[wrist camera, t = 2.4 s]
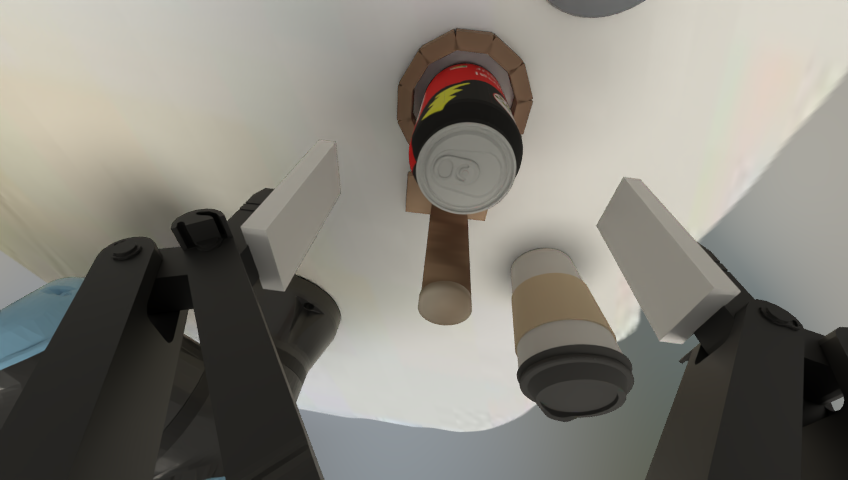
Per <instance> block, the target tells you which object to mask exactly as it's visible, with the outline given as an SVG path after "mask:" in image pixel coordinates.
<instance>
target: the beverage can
mask: <svg viewBox="0 0 848 480" xmlns="http://www.w3.org/2000/svg"><path fill="white" fill-rule="evenodd" d="M522 155H523V144H522V138H521V135H520V132H519V129H518V127H517V125H516V122H515V120H514V118H513V115H512V113H511V110H510V108H509V106H508V103H507V101H506V99H505V96H504V94H503V92H502V89H501V87H500V85H499V83H498V81H497V80H496V78H495V77H494V76H493V75H492V74H491V73H490V72H489V71H487V70H486V69H484V68H482V67H480V66H478V65H474V64H467V63H463V64H456V65H453V66H450V67H448V68H446V69H444V70H442V71H441V72H440V73H438V74H437V75H436V76H435V77H434V78H433V80H432V81H431V82H430V84H429V85H428V87H427V89H426V92H425V94H424V98H423V101H422V104H421V108H420V111H419V114H418V118H417V121H416V124H415V128H414V131H413V134H412V138H411V141H410V146H409V163H410V168H411V171H412V174H413V176H414V178H415V180H416V182H417V184H418V185H419V187H420V190H421V191H422V193H423V194H424V196H425V197H426V198H427V199H428V200H429V201H430V202H431V203H432V204H433V205H435V206H436V207H438V208H440V209H442V210H444V211H447V212H450V213H454V214H474V213H479V212H482V211H485V210H487V209H489V208H491V207H493V206H494V205H496V204H497V203H498V202H500V201H501V200H502V199H503V198H504V197H505V196H506V194H507V193H508V192H509V190H510V188H511V187H512V185H513V182H514V179H515V177H516V175H517V173H518V171H519V168H520V165H521V161H522Z"/></svg>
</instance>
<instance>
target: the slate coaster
mask: <svg viewBox="0 0 848 480" xmlns="http://www.w3.org/2000/svg"><path fill="white" fill-rule="evenodd" d="M547 1H548V2H549V3H550V4H551V5H552V6H554V7H556V8H557V9H559V10H561V11H563V12H565V13H568V14H571V15H575V16H580V17H588V18H597V17H605V16H610V15H614V14H617V13H620V12H623V11H625V10H628V9H630V8H632V7H634V6H636V5H638V4H640V3H642V2H644V1H645V0H547Z"/></svg>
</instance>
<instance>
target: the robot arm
mask: <svg viewBox="0 0 848 480" xmlns="http://www.w3.org/2000/svg"><path fill="white" fill-rule="evenodd" d="M340 194H341V189H340V179H339V169H338V159H337V148H336V142H335V141H327V140H319V141H318V142H317V143H316V144H315V145H314V146H313V147H312V148H311V149H310V151H309V152H308V153H307V154H306V155H305V156H304V157H303V158H302V159H301V160H300V162H299V163H298V164H297V165H296V166H295V167H294V168H293V169H292V170H291V172H290V173H289V174H288V175H287V176H286V177H285V178H284V179H283V180H282V181H281V183H280V184H279V185H278V186H277V187H276V188H275V189H269V188H265V189H263V190H261V191H259V192H257V193H255V194H254V195H253V196H252V197H251V198H250V199H249V200H248V201H247V202H246V204H244V205H243V206H242V207H241V208H240V210H238V211H237V212H236V213H235V214H234V215H233V216H232V217H231V218H230V219H229V220H228V221H227V220H226V218H225V215H224V214H223V213H222V212H221V211H218V210H215V209H201V210H195V211H192V212H188V213H186V214H184V215H182V216H180V217H178V218H177V219H176V220H175V221H174V222H173V223H172V226H171V230H172V232H173V233H174V235H175V237H176V239H177V241H178V242H179V244H180V246H181V247H176V248H165V249H158V247H157V246H156V244H155V242H154V241H153V240H151V239H150V238H146V237H132V238H127V239H123V240H119V241H118V242H115V243H112V244H111V245H109V246H108V247H106V248H104V249H103V250H102V251H101V252H100V253H99V254H98V256H97V257H96V259H95V261H94V263H93V265H92V266H91V268H90V270H89V272H88V274H87V275H86V277H85V278H82V277H68V278H62V279H58V280H55V281H52V282H50V283H48V284H46V285H44V286H42V287H40V288H39V289H37V290H35V291H34V292H31V293H30V294H28V295H26V296H24V297H23V298H21V299H19V300H17V301H16V302H14V303H12V304H10V305H9V306H7V307H5V308H3V309H2V310H0V480H324V478H323V475H322V472H321V469H320V467H319V464H318V461H317V458H316V456H315V453H314V450H313V448H312V445H311V442H310V440H309V437H308V434H307V431H306V429H305V426H304V423H303V421H302V418H301V415H300V413H299V410H298V407H297V404H296V401H297V399H298V396H299V393H300V391H301V388H302V385H303V383H304V380H305V378H306V375H307V373H308V371H309V370H310V369H311V367H312V366H313V365H314V363H315V362H316V361H317V360H318V358H319V357H320V356H321V355H322V353H323V352H324V351H325V349H326V348H327V347H328V346H329V344H330V343H331V342H332V341H333V339H334V337H335V335H336V332H337V329H338V326H339V324H340V312H339V309H338V307H337V305H336V304H335V302H334V301H333V300H332V298H331V297H330V296H329V295H328V294H327V293H325V292H324V291H323V290H322V289H320V288H319V287H317V286H316V285H314V284H312V283H311V282H309V281H307V280H304V279H302V278H300V277H297V276H294V274H295V272H296V271H297V269H298V267H299V265H300V264H301V262H302V260H303V259H304V257H305V255H306V253H307V252H308V250H309V248H310V246H311V245H312V243H313V241H314V239H315V238H316V236H317V234H318V232H319V231H320V229H321V227H322V225H323V224H324V222H325V220H326V218H327V217H328V215H329V213H330V211H331V210H332V208H333V206H334V204H335V203H336V201H337V199H338V198H339V196H340ZM596 226H597V228H598V229H599V231H600V233H601V235H602V237H603V239H604V240H605V242H606V244H607V246H608V248H609V250H610V251H611V253H612V255H613V257H614V259H615V261H616V262H617V264H618V266H619V268H620V270H621V272H622V273H623V275H624V277H625V279H626V281H627V283H628V284H629V286H630V288H631V290H632V292H633V294H634V295H635V297H636V299H637V301H638V303H639V304H640V306H641V308H642V310H643V312H644V313H645V315H646V317H647V319H648V321H649V323H650V325H651V326H652V328H653V330H654V332H655V334H656V335H657V337H658V339H659V341H663V342H670V343H678V344H683V343H684V342H685V341H686V340H687V339H688V338H689V337H690V336H692V335H693V334H695V336H696V337H697V339H698V340H699V342H700V343H699V344H698V345H697V346H696V347H694V348H693V349H692V350H691V351H690V352H689V353H687V354H686V355H685V356H684V357H683V358H682V359H681V360H680V361H679V362H680V363H684V362H685V361H688V364H687V366H686V369H685V372H684V375H683V378H682V380H681V383H680V386H679V388H678V391H677V394H676V397H675V399H674V402H673V405H672V407H671V411H670V413H669V416H668V418H667V421H666V424H665V427H664V429H663V432H662V435H661V438H660V440H659V443H658V446H657V449H656V451H655V454H654V457H653V459H652V462H651V465H650V468H649V470H648V473H647V476H646V479H645V480H848V327H839V328H837V329H836V330H834V331H833V332H831V333H829V334H828V335H826V336H824V335H821V334H818V333H815V332H812V331H809V330H806V329H804V328H803V326H802V324H801V323H800V322H799V321H798V320H797V319H796V318H795V317H794V316H793V315H791V314H790V313H789V312H788V311H786V310H784V309H782V308H781V307H779V306H777V305H775V304H772V303H770V302H767V301H763V300H758V299H756V300H755V299H754V298H753V297H752V296H751V295H750V294H749V293H748V292H747V291H746V289H745V288H744V287H743V286H742V285H741V284H740V283H739V282H738V281H737V280H736V279H735V277H734V276H733V275H732V274H731V273H730V272H727V269H726V268H725V267H724V266H723V264H721V263H720V261H719V260H718V259H717V258H716V257H715V256H714V255H713V254H712V252H711V251H709V250H708V249H706V248H705V247H704V246H702V245H701V244H699V243H698V242H696V241H695V240H694V238H693V237H692V236H691V235H690V234H689V233H688V232H687V231H686V230H685V228H684V227H683V226H682V225H681V224H680V223H679V222H678V221H677V220H676V218H675V217H674V216H673V215H672V214H671V213H670V212H669V211H668V209H667V208H666V207H665V206H664V205H663V204H662V203H661V202H660V201H659V199H658V198H657V197H656V196H655V195H654V194H653V193H652V192H651V190H650V189H649V188H648V187H647V186H646V185H645V184H644V183H643V182H642V180H641V179H635V178H626V177H623V179H622V180H621V182H620V184H619V186H618V188H617V189H616V191H615V193H614V195H613V197H612V198H611V200H610V202H609V204H608V206H607V207H606V209H605V211H604V213H603V215H602V216H601V218H600V220H599V222H598V224H597V225H596ZM189 309H194V312H195V318H196V323H197V328H198V334H199V339H200V343H198V342H196V341H195V340H193V339H191V338H190V337H188V336H187V335H185V334H183V333H184V329H185V324H186V319H187V314H188V310H189ZM843 396H844V404H843V407H842V408H841V409H840V410H838V411H834V409H833V407H832V404H831V402H832V401H835V400H837V399H839V398H841V397H843Z"/></svg>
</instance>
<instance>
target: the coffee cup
mask: <svg viewBox="0 0 848 480" xmlns="http://www.w3.org/2000/svg"><path fill="white" fill-rule="evenodd" d="M511 282H512V294H513V295H512V312H513V326H514V340H515V352H516V355H517V357H518V367H519V369H518V371H517V379H518V382H519V383H520V389H521V391H522V392H523V394H524V395H525V396H526V397H527V398H529V399H530V400H532V401H534V402H536V404H537V405H538V406H539V407H540V408H541V410H542V411H543V412H544V414H545V415H546V416H547V417H549V418H551V419H554V420H558V421H563V422H568V421H571V420H573V419H576V418H581V417H592V416H598V415H603V414H606V413H609V412H612V411H614V410H616V409H617V408H619V407H621V406H622V405H623V404H624V402H625V400H626V395H627V394H628V393H629V392H630V390H631V389H632V387H633V384H634V377H633V375H632V364H631V362H630V360H629V359H628V358H627V357H626V356H625V355H624V354H622V352H621V350H620V348H619V346H618V344H617V343H616V337H615V334H614V333H613V331H612V329H611V327H610V326H609V324H608V322H607V320H606V319H605V317H604V315H603V313H602V312H601V310H600V308H599V306H598V304H597V303H596V301H595V299H594V297H593V296H592V294H591V292H590V290H589V289H588V287H587V285H586V284H585V283H584V282H583V281H582V279H581V277H580V275H579V273H578V271H577V270H576V268H575V266H574V264H573V262H572V260H571V259H570V257H569V256H568V255H567V254H565V253H564V252H562V251H559V250H556V249H550V248H541V249H535V250H531V251H529V252H526V253H524V254H523V255H521V256H520V257H518V258H517V259H516V260H515V262H514V263H513V265H512V267H511Z"/></svg>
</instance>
